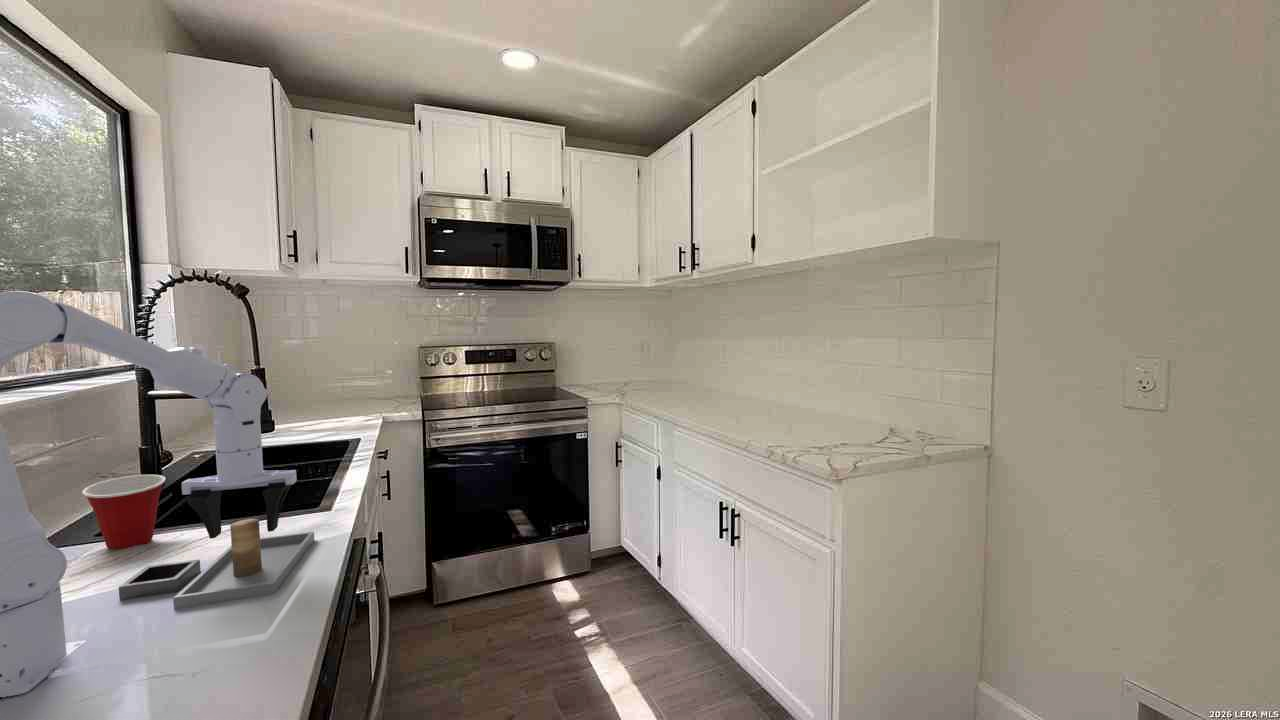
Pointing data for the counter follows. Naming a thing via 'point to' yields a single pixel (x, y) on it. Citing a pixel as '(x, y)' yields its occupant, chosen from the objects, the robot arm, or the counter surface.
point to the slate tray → (224, 586)
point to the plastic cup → (126, 509)
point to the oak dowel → (246, 547)
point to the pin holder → (159, 580)
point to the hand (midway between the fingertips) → (244, 532)
